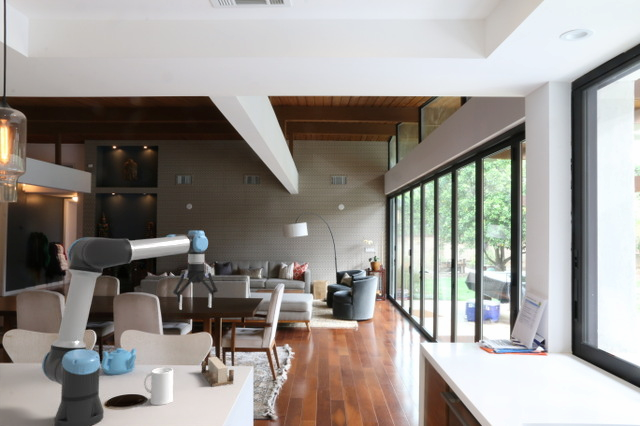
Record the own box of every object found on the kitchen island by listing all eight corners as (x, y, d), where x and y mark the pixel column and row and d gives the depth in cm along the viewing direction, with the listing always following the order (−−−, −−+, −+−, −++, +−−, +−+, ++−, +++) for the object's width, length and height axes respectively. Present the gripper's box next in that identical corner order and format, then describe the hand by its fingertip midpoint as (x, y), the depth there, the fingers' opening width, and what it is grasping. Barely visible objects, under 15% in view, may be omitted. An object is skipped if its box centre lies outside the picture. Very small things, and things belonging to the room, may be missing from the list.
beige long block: (227, 381, 196) (227, 367, 196) (218, 382, 194) (218, 368, 194) (216, 369, 213) (216, 356, 214) (207, 370, 212) (208, 357, 212)
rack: (234, 383, 196) (234, 370, 196) (211, 387, 191) (211, 374, 192) (221, 370, 216) (222, 358, 216) (200, 372, 211) (201, 361, 211)
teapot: (102, 368, 218) (103, 346, 218) (135, 365, 223) (136, 343, 224) (100, 377, 204) (100, 353, 204) (135, 374, 209) (136, 350, 210)
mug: (138, 403, 172) (138, 371, 173) (151, 395, 181) (152, 365, 181) (165, 406, 170) (165, 374, 170) (177, 398, 178) (178, 367, 178)
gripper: (220, 262, 220) (219, 305, 219) (167, 263, 209) (166, 308, 208) (224, 262, 213) (223, 307, 212) (169, 264, 202) (168, 311, 201)
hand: (195, 308), depth 210 cm, fingers open, 13 cm apart
